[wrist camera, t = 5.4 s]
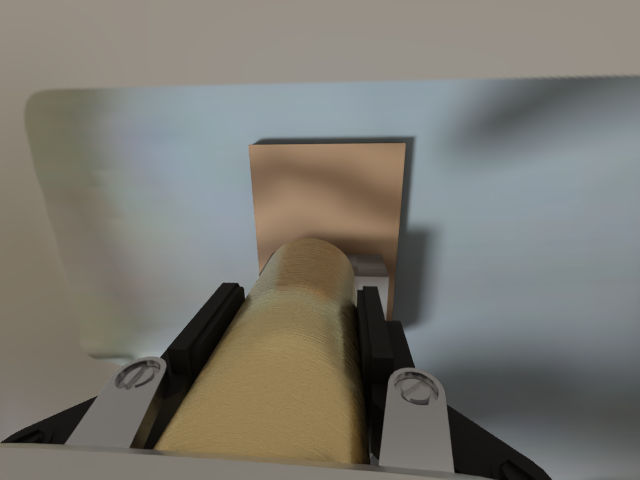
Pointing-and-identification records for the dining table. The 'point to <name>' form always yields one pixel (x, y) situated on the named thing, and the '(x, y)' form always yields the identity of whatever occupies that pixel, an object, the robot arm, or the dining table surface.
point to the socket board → (332, 204)
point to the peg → (284, 368)
